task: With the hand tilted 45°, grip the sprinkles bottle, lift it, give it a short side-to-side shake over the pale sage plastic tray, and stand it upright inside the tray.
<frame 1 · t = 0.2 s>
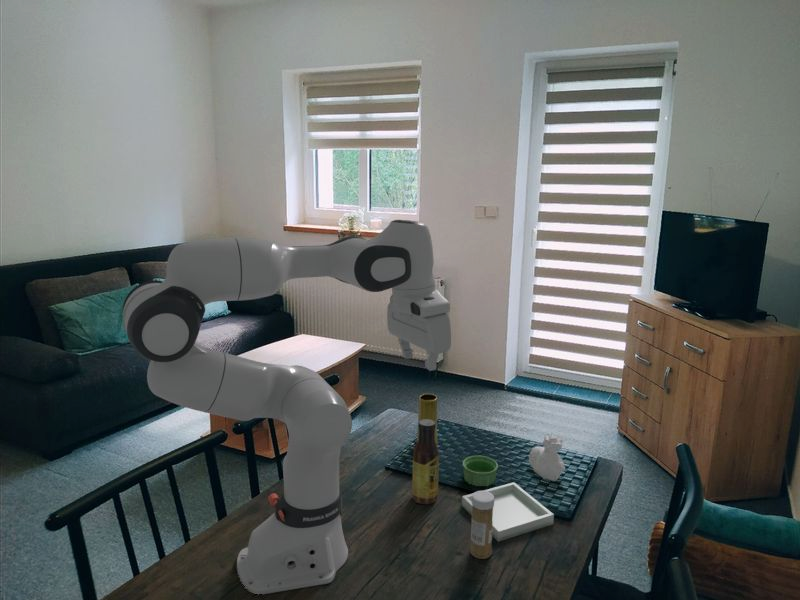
hand: (419, 363, 124), 39 cm above the table, tool pointing down, fingers open, 8 cm apart
vase: (427, 443, 173), on the table
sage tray: (506, 514, 139), on the table
ramekin: (479, 480, 154), on the table
sprinkles bottle: (480, 553, 125), on the table
duck figurine: (547, 473, 157), on the table
sauce bottle: (424, 498, 145), on the table
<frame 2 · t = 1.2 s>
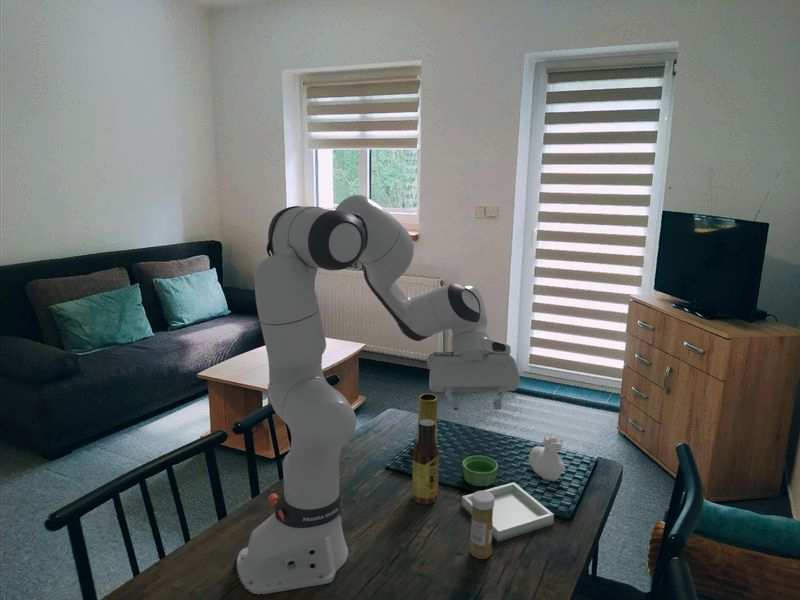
hand: (476, 408, 131), 27 cm above the table, tool tilted 45°, fingers open, 8 cm apart
nothing on the table moved.
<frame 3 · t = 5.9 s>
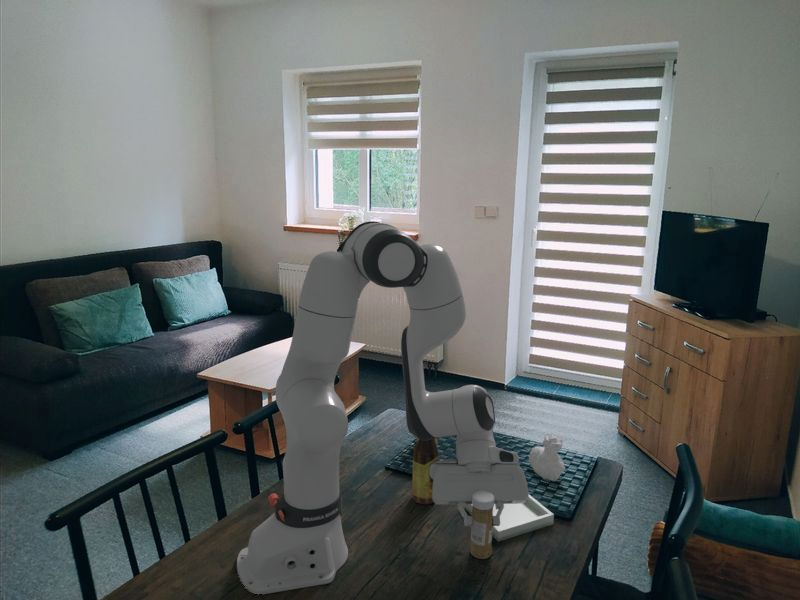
hand: (482, 525, 123), 7 cm above the table, tool tilted 45°, fingers closed on sprinkles bottle, 4 cm apart
sprinkles bottle: (480, 553, 125), on the table, touching gripper
everything else where it was.
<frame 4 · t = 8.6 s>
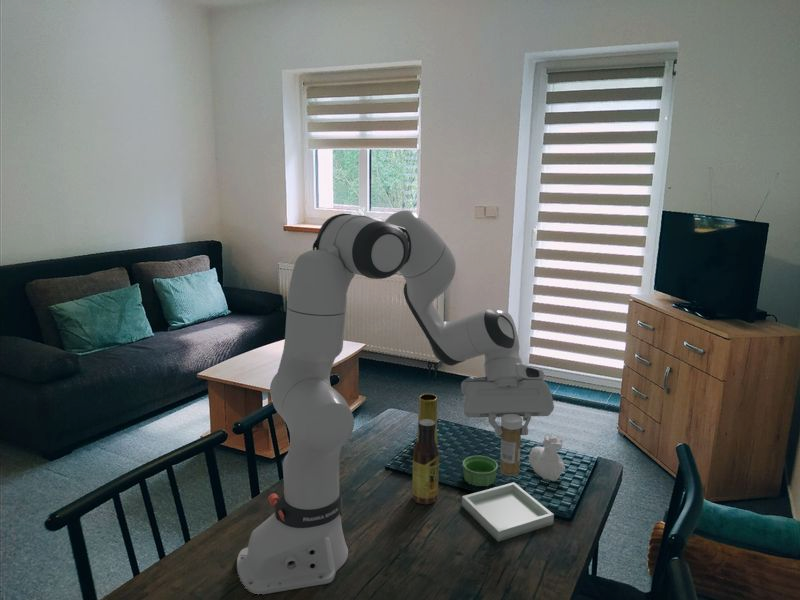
hand: (511, 434, 132), 21 cm above the table, tool tilted 45°, fingers closed on sprinkles bottle, 4 cm apart
sprinkles bottle: (509, 472, 135), point 11 cm above the table, touching gripper
everything else where it was.
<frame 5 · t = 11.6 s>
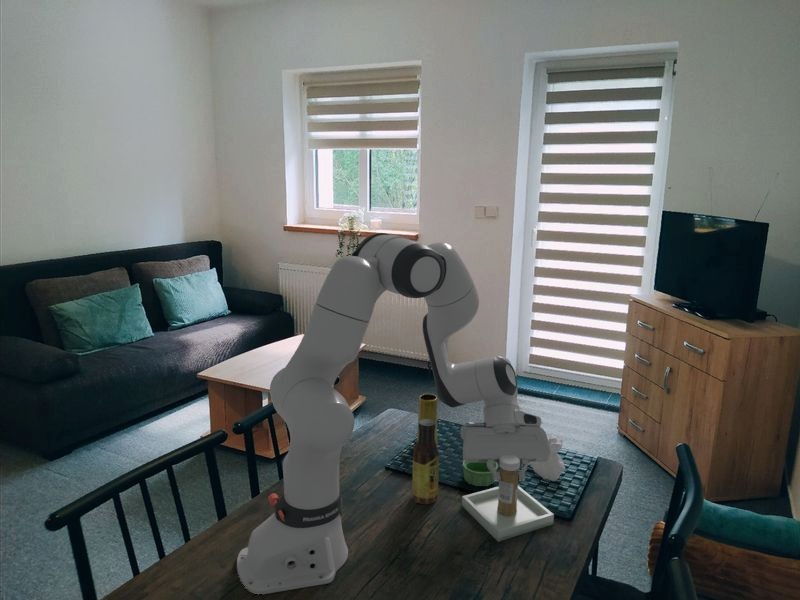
hand: (509, 480, 136), 9 cm above the table, tool tilted 45°, fingers closed on sprinkles bottle, 4 cm apart
sprinkles bottle: (506, 511, 139), point 1 cm above the table, touching gripper, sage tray
everything else where it was.
when the fingers open (9 cm above the table, at t = 11.8 s): sprinkles bottle stays where it is, resting on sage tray.
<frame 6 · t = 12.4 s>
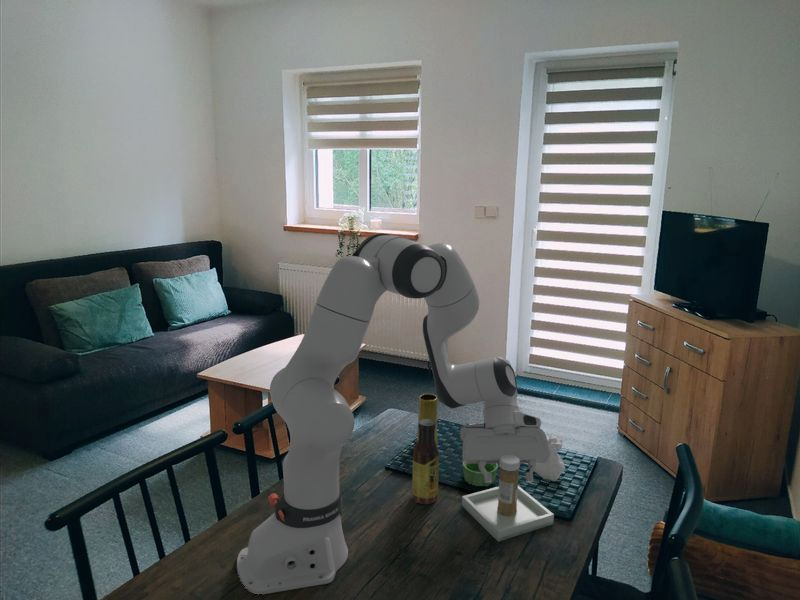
hand: (509, 481, 136), 9 cm above the table, tool tilted 45°, fingers open, 8 cm apart
sprinkles bottle: (506, 511, 139), point 1 cm above the table, touching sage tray
everything else where it was.
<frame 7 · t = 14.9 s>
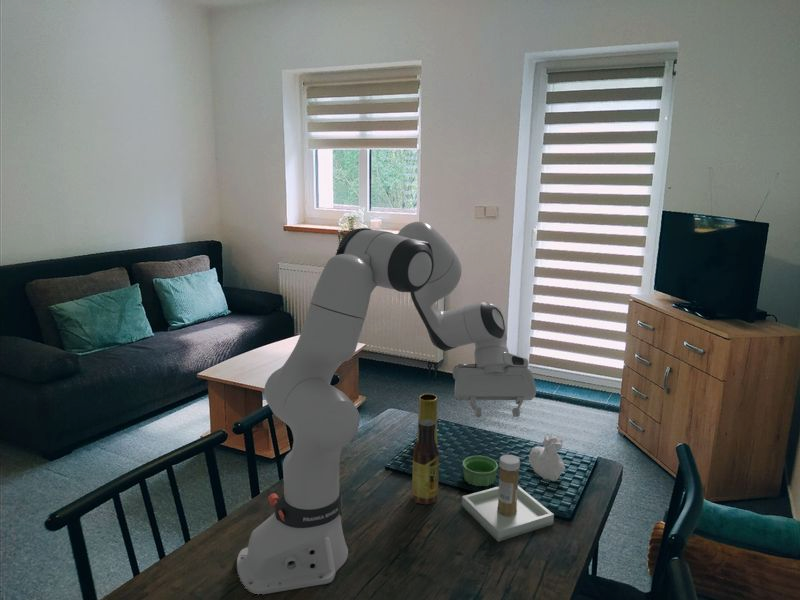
hand: (497, 416, 146), 19 cm above the table, tool tilted 45°, fingers open, 8 cm apart
nothing on the table moved.
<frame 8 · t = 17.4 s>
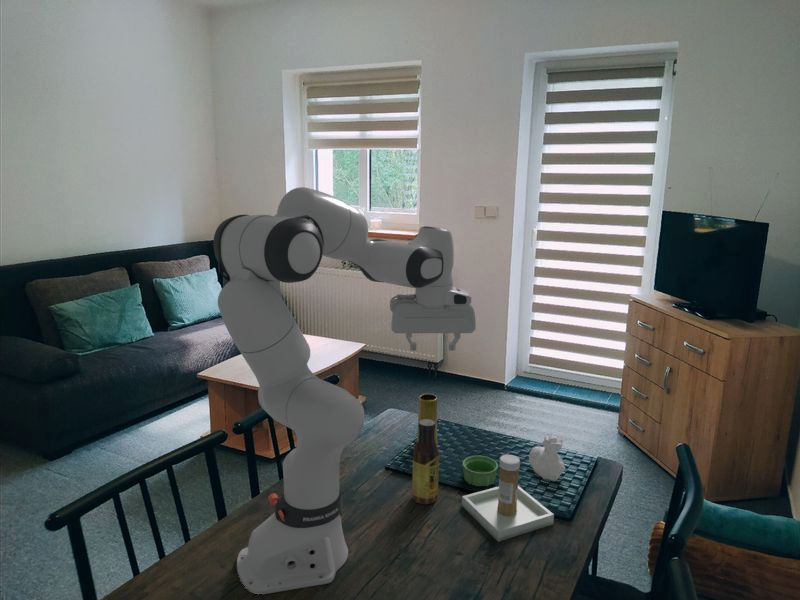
hand: (432, 349, 145), 35 cm above the table, tool pointing down, fingers open, 8 cm apart
nothing on the table moved.
at the end: sprinkles bottle inside the target area on the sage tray (0.3 cm from its centre), point 0.6 cm above the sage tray's base; sprinkles bottle tilted 0°; the gripper is holding nothing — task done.
